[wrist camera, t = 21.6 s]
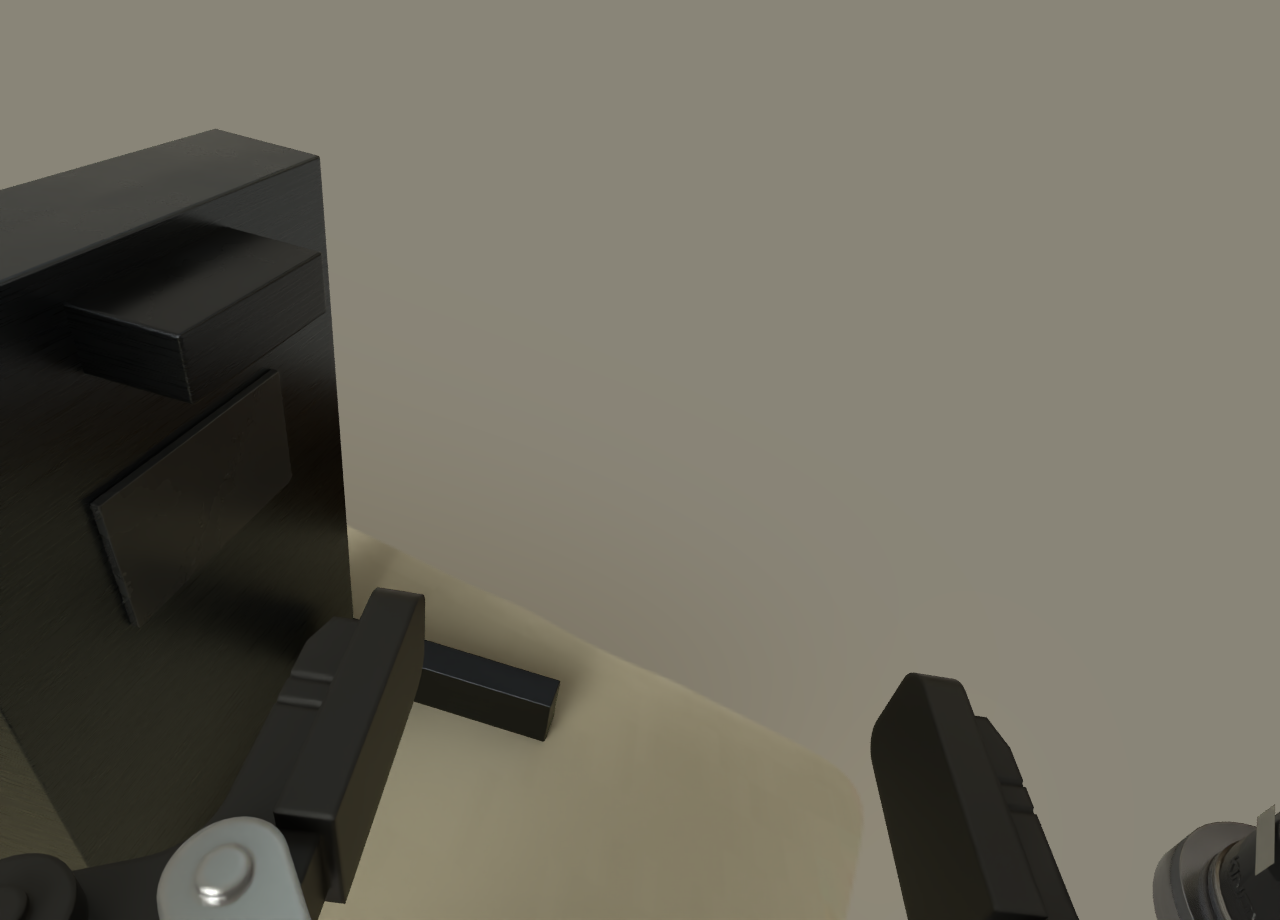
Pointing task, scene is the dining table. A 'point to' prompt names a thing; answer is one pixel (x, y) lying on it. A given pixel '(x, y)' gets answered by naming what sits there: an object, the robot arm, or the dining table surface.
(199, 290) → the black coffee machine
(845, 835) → the dining table surface
